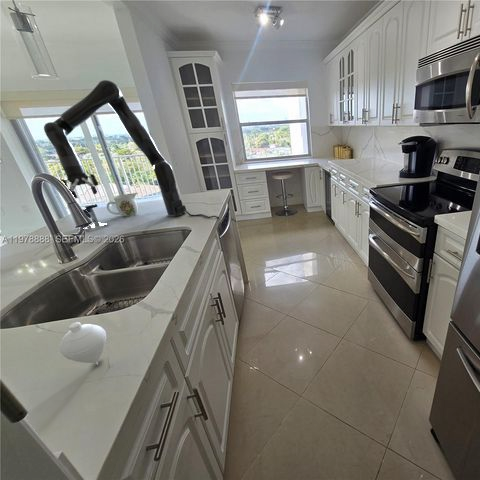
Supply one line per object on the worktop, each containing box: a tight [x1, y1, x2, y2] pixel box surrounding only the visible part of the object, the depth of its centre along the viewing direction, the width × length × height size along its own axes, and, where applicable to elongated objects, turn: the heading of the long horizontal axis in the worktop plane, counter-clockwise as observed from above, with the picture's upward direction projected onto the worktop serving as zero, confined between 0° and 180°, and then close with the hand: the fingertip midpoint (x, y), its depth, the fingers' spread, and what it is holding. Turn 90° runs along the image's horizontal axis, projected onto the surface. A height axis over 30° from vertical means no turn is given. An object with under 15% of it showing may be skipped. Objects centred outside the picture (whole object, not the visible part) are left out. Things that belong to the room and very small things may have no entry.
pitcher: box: [106, 192, 139, 217], centre depth 164 cm, size 11×18×14 cm, turn 126°
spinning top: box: [59, 321, 107, 366], centre depth 57 cm, size 8×8×12 cm
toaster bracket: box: [85, 208, 107, 231], centre depth 148 cm, size 12×9×12 cm
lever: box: [84, 203, 99, 212], centre depth 143 cm, size 12×5×2 cm, turn 61°
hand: (86, 195), depth 138 cm, fingers open, 8 cm apart
